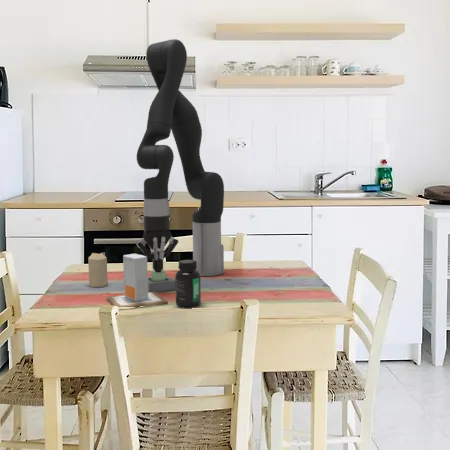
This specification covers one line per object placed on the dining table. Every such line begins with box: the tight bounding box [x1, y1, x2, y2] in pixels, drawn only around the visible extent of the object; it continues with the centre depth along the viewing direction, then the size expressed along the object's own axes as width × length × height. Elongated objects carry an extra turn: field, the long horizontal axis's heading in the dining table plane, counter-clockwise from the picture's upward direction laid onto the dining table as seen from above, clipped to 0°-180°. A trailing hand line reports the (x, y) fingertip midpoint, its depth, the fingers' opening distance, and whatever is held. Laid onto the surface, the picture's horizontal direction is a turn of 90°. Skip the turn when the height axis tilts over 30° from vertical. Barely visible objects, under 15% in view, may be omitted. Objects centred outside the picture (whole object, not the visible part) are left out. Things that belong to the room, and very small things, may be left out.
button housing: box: [148, 274, 176, 294], centre depth 199 cm, size 8×8×3 cm
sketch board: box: [105, 292, 169, 307], centre depth 185 cm, size 14×12×1 cm
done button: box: [150, 269, 167, 282], centre depth 198 cm, size 4×4×4 cm
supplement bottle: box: [174, 259, 202, 309], centre depth 180 cm, size 7×7×12 cm
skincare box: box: [122, 253, 149, 301], centre depth 184 cm, size 6×4×12 cm
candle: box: [87, 252, 108, 288], centre depth 204 cm, size 6×6×10 cm
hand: (157, 271), depth 198 cm, fingers closed
